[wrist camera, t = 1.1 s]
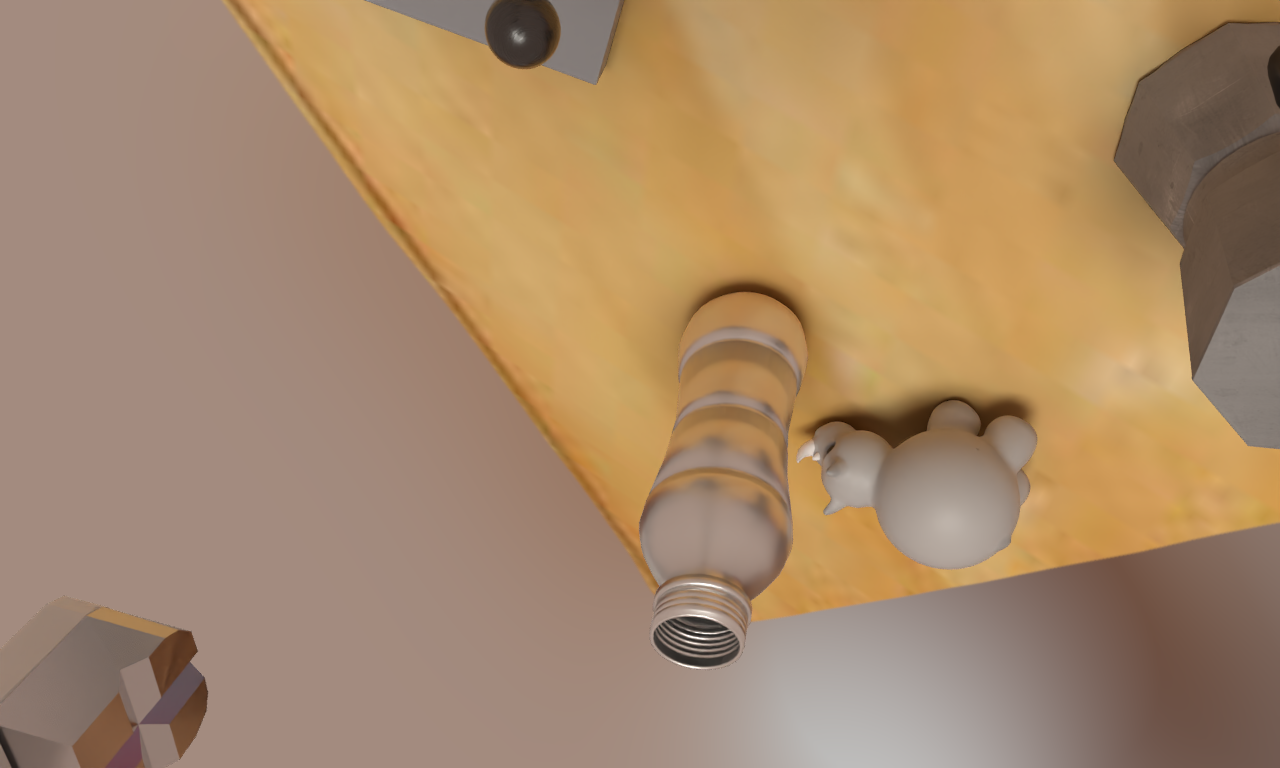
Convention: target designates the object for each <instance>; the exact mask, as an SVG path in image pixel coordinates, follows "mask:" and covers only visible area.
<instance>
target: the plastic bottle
mask: <svg viewBox="0 0 1280 768" xmlns="http://www.w3.org/2000/svg"><path fill="white" fill-rule="evenodd" d="M807 361H808V352H807V345H806V340H805V335H804V331H803V328H802V325H801V323H800V321H799V320H798V318H797V317H796V315H795V314H794V313H793V312H792V311H791V310H790V309H789V308H788V307H786V306H785V305H783V304H782V303H780V302H779V301H777V300H775V299H773V298H771V297H769V296H767V295H763V294H759V293H755V292H735V293H731V294H726V295H723V296H720V297H718V298H715V299H713V300H711V301H709V302H708V303H706V304H705V305H703V306H702V307H701V308H700V309H699V310H698V311H697V312H696V313H695V314H694V315H693V317H692V319H691V320H690V322H689V324H688V326H687V328H686V329H685V331H684V333H683V335H682V338H681V341H680V344H679V355H678V377H679V383H680V385H679V395H678V406H677V416H676V421H675V425H674V428H673V432H672V436H671V439H670V442H669V445H668V449H667V452H666V456H665V458H664V461H663V463H662V465H661V468H660V470H659V472H658V475H657V477H656V479H655V482H654V484H653V486H652V489H651V491H650V493H649V496H648V498H647V500H646V503H645V506H644V509H643V513H642V516H641V519H640V522H639V534H640V541H641V548H642V552H643V556H644V558H645V560H646V562H647V564H648V566H649V568H650V570H651V572H652V574H653V576H654V578H655V580H656V581H657V583H658V584H659V586H660V587H659V588H658V589H657V591H656V594H655V597H654V602H653V612H654V613H653V618H652V623H651V627H650V642H651V645H652V646H653V648H654V650H655V651H656V652H657V653H658V654H659V655H660V656H662V657H663V658H664V659H666V660H668V661H670V662H672V663H674V664H677V665H679V666H683V667H686V668H691V669H697V670H712V669H719V668H723V667H726V666H729V665H731V664H732V663H734V662H736V661H737V660H738V659H739V658H740V656H741V655H742V653H743V649H744V647H745V639H746V632H747V628H748V626H749V624H750V621H751V614H752V604H751V600H752V599H754V598H755V597H757V596H758V595H759V594H760V593H762V592H763V591H764V590H765V589H766V588H767V587H768V586H769V585H770V584H771V583H772V582H773V581H774V580H775V579H776V578H777V577H778V576H779V574H780V573H781V571H782V569H783V567H784V565H785V563H786V561H787V558H788V556H789V554H790V552H791V549H792V544H793V523H792V515H791V506H790V497H789V487H788V478H787V466H788V452H787V448H788V431H789V426H790V421H791V417H792V412H793V407H794V402H795V398H796V396H797V394H798V391H799V389H800V387H801V384H802V381H803V378H804V374H805V371H806V367H807Z"/></svg>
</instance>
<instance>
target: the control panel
mask: <svg viewBox="0 0 1280 768" xmlns="http://www.w3.org/2000/svg"><path fill="white" fill-rule="evenodd" d="M365 1H368V2H371V3H374V4H376V5H379V6H382V7H384V8H387V9H390V10H393V11H395V12H398V13H401V14H404V15H406V16H409V17H412V18H414V19H417V20H420V21H423V22H425V23H428V24H431V25H434V26H436V27H439V28H442V29H444V30H447V31H450V32H453V33H455V34H458V35H461V36H463V37H466V38H469V39H472V40H474V41H477V42H480V43H483V44H485V45H488V43H487V40H486V36H485V18H486V14H487V12H488V10H489V8H490V6H491V4H492V3H493V2H494V0H365ZM549 1H550V2H551V4H552V5H553V6H554V8H555V10H556V12H557V14H558V16H559V20H560V25H561V36H560V41H559V44H558V47H557V49H556V51H555V52H554V54H553V55H552V56H551V58H550V59H549V60H548V61H546V62H545V63H544V64H542V66H545V67H548V68H551V69H553V70H556V71H559V72H562V73H564V74H567V75H570V76H572V77H575V78H578V79H581V80H583V81H586V82H589V83H592V84H594V85H596V84H597V82H598V80H599V78H600V76H601V74H602V72H603V70H604V68H605V66H606V63H607V59H608V56H609V52H610V49H611V45H612V42H613V38H614V35H615V31H616V28H617V24H618V20H619V17H620V13H621V10H622V6H623V3H624V0H549ZM488 46H489V45H488Z"/></svg>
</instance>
